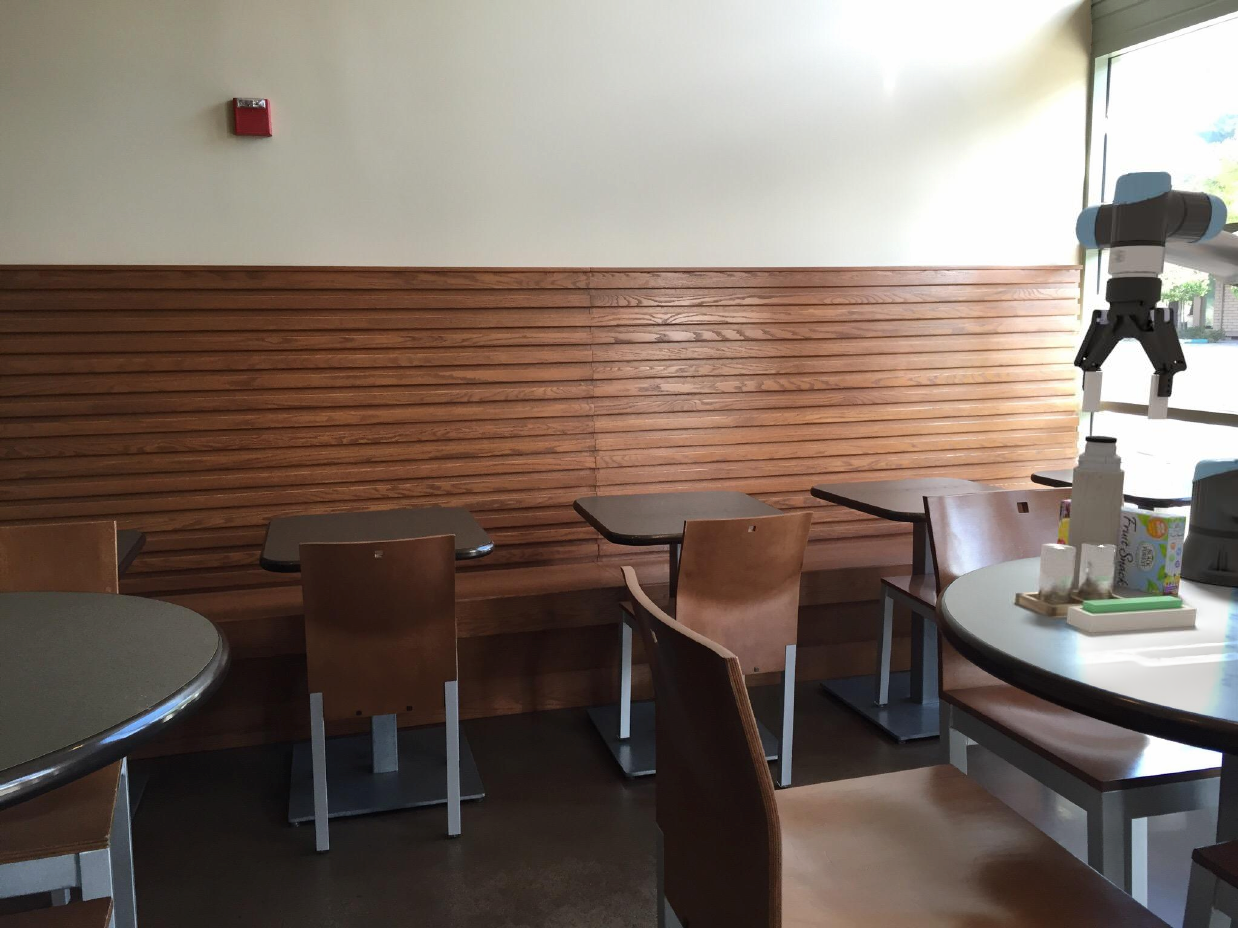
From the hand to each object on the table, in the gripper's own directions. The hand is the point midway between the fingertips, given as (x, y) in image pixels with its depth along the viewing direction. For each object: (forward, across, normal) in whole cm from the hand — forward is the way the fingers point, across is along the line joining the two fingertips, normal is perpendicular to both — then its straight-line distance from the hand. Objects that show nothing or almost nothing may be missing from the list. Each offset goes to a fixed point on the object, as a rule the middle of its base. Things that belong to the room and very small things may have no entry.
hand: (1122, 415), depth 151 cm
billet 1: (+31, -3, -7) cm, 32 cm away
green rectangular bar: (+31, +7, -1) cm, 32 cm away
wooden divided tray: (+33, -3, -3) cm, 33 cm away
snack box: (+33, -17, +17) cm, 41 cm away
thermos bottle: (+33, -14, +9) cm, 37 cm away
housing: (+33, +7, -2) cm, 33 cm away
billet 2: (+31, -3, 0) cm, 31 cm away
